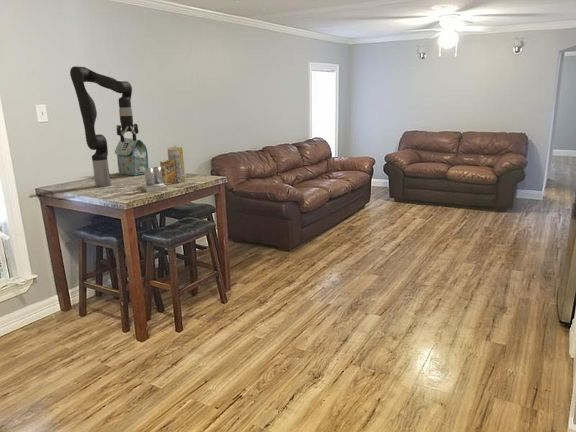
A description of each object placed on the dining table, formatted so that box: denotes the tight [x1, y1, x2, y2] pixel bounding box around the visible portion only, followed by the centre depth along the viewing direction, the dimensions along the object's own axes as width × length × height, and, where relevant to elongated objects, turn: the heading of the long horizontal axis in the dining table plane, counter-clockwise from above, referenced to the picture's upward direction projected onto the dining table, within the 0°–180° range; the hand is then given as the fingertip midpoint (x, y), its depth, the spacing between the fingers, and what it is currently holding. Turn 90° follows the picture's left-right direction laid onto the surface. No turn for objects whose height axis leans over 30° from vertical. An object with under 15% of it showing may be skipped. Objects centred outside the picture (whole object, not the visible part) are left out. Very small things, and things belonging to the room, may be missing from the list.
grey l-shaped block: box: [141, 170, 168, 193], centre depth 278 cm, size 12×15×11 cm
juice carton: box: [167, 145, 186, 183], centre depth 300 cm, size 9×8×24 cm
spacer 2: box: [152, 166, 162, 184], centre depth 278 cm, size 4×4×10 cm
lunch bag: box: [114, 137, 149, 176], centre depth 335 cm, size 23×16×27 cm
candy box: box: [159, 159, 178, 186], centre depth 293 cm, size 9×4×15 cm, turn 146°
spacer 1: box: [145, 167, 154, 186], centre depth 273 cm, size 4×4×10 cm
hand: (128, 141), depth 281 cm, fingers open, 8 cm apart
